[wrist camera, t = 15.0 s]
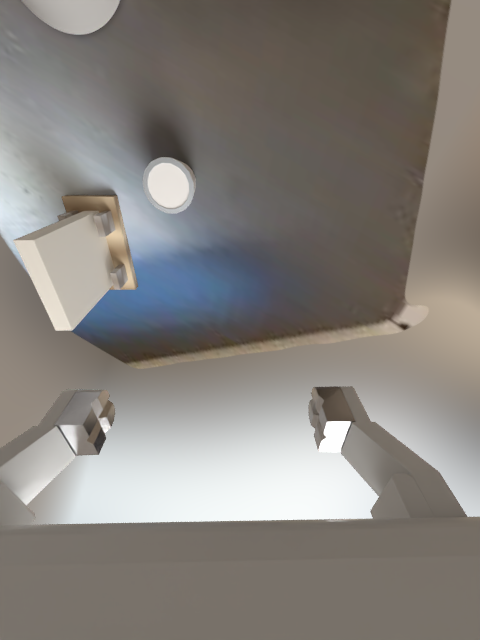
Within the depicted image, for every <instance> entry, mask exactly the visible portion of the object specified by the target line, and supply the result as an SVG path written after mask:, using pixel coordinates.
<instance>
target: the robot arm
mask: <svg viewBox="0 0 480 640" xmlns="http://www.w3.org/2000/svg"><path fill="white" fill-rule="evenodd" d="M21 1H22V2H23V3H24V4H25V5H26V6H27V7H28V8H29V9H30V10H31V11H32V12H33V13H34V14H35V15H36V16H37V17H38V18H40V19H41V20H42V21H43V22H45V23H46V24H48V25H50V26H51V27H53V28H55V29H57V30H59V31H62V32H65V33H69V34H75V35H82V34H88V33H92V32H94V31H96V30H98V29H100V28H101V27H103V26H104V25H105V24H106V23H107V22H108V21H109V20H110V18H111V17H112V16H113V14H114V12H115V11H116V9H117V7H118V4H119V2H120V0H21ZM311 394H312V398H313V399H312V400H310V402H309V419H310V423H311V425H312V426H313V427H314V428H315V433H314V437H315V441H316V444H317V448H318V451H321V452H322V451H323V452H325V451H326V452H341V454H342V455H343V456H344V457H345V459H347V461H348V462H349V463H350V464H351V465H352V466H353V468H354V469H355V470H356V471H357V472H358V473H359V474H360V475H361V477H362V478H363V479H364V480H365V481H366V482H367V483H368V485H369V486H370V487H371V488H372V489H373V490H374V491H375V493H376V494H377V495H378V496H379V498H378V500H377V501H376V503H375V504H374V506H373V508H372V510H371V514H372V517H373V519H331V520H330V519H328V520H276V521H275V520H272V521H220V522H219V521H217V522H160V523H107V524H56V525H55V524H54V525H53V524H52V525H51V524H49V525H32V523H33V521H34V520H35V514H34V513H33V512H32V511H31V510H30V509H29V508H28V507H27V506H26V505H27V504H28V503H29V502H30V501H31V500H32V499H33V498H34V497H35V496H36V495H37V494H38V493H39V492H40V491H41V490H42V489H43V488H44V487H45V486H46V485H47V484H48V483H49V482H50V481H52V480H53V479H54V478H55V477H56V476H57V475H58V474H59V473H60V472H61V471H62V470H63V469H64V468H65V467H66V466H67V465H68V464H69V463H70V462H71V461H72V460H73V459H74V458H75V457H76V455H99V453H100V450H101V448H102V446H103V444H104V442H105V440H106V436H105V432H106V431H107V430H108V429H110V428H111V426H112V424H113V421H114V415H115V408H114V405H113V403H112V402H110V401H109V400H108V399H109V397H110V395H109V393H108V391H107V390H87V389H79V390H78V389H76V390H75V389H66V390H65V391H63V392H62V393H61V394H60V396H59V397H58V398H57V400H56V401H55V403H54V404H53V406H52V407H51V408H50V410H49V411H48V412H47V414H46V415H45V417H44V418H43V419H42V421H41V422H40V424H39V425H38V426H33V427H32V428H30V429H29V430H27V431H26V432H24V433H23V434H21V435H20V436H18V437H17V438H15V439H14V440H12V441H11V442H9V443H8V444H6V445H5V446H3V447H2V448H0V640H480V517H467V515H466V514H465V512H464V511H463V509H462V507H461V506H460V504H459V503H458V501H457V499H456V498H455V496H454V495H453V493H452V492H451V490H450V488H449V487H448V485H447V484H446V482H445V480H444V479H443V477H442V476H441V474H440V473H439V472H438V471H437V470H436V469H435V468H433V467H432V466H431V465H429V464H428V463H427V462H426V461H424V460H423V459H422V458H420V457H419V456H418V455H417V454H415V453H414V452H413V451H411V450H410V449H409V448H408V447H406V446H405V445H404V444H402V443H401V442H400V441H398V440H397V439H396V438H395V437H394V436H392V435H391V434H389V433H388V432H387V431H386V430H385V429H383V428H382V427H381V426H379V425H378V424H377V423H375V422H371V421H370V419H369V417H368V415H367V413H366V411H365V409H364V407H363V405H362V403H361V402H360V399H359V397H358V396H357V393H356V391H355V389H354V388H353V387H314V388H313V389H312V393H311Z"/></svg>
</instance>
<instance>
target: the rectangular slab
mask: <svg viewBox="0 0 480 640" xmlns="http://www.w3.org/2000/svg"><path fill="white" fill-rule="evenodd" d="M98 213H99V211H83V212H80V213H78V214H75V215H73V216H71V217H68V218H66V219H63V220H61V221H58V222H56V223H54V224H51V225H49V226H46V227H44V228H42V229H39V230H37V231H34V232H32V233H30V234H27V235H25V236H22V237H20V238H17V239H15V240H13V241H14V243H15V245H16V247H17V249H18V251H19V254H20V256H21V258H22V260H23V262H24V264H25V266H26V268H27V270H28V273H29V275H30V277H31V279H32V281H33V283H34V285H35V287H36V290H37V291H38V294H39V296H40V298H41V300H42V302H43V304H44V306H45V309H46V311H47V313H48V315H49V317H50V319H51V321H52V323H53V325H54V327H55V330H73V329H74V328H75V327H76V326H77V325H78V324H79V323H80V321H81V320H82V319H83V318H84V317H85V316H86V315H87V314H88V312H89V311H90V310H91V309H92V308H93V307H94V306H95V305H96V303H97V302H98V301H99V300H100V299H101V298H102V297H103V296H104V295H105V293H106V292H107V291H108V290H109V289H110V288H111V287H112V286H113V282H112V279H111V276H110V273H111V272H112V271H113V270H114V265H113V262H112V258H111V254H110V251H109V247H108V243H107V240H106V237H99V234H98V231H97V227H96V224H95V220H94V217H93V216H94V215H96V214H98Z"/></svg>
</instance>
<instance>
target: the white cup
mask: <svg viewBox="0 0 480 640" xmlns="http://www.w3.org/2000/svg"><path fill="white" fill-rule="evenodd" d="M143 187H144V192H145V194H146V196H147V198H148V200H149V201H150V202H151V203H152V204H153V205H154V206H155V207H156V208H157V209H158V210H161V211H163V212H165V213H179V212H181V211H183V210H185V209H186V208H187V207H188V206H189V205H190V203H191V201H192V198H193V195H194V192H195V188H196V178H195V176H194V173H193V171H192V170H191V168H190V167H189V166H188V165H187V164H185V163H183V162H181V161H179V160H176V159H173V158H168V157H160V158H158V159H155V160H153V161H151V162H150V164H149V165H148V166H147V168H146V169H145V172H144V176H143Z"/></svg>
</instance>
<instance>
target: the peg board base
mask: <svg viewBox="0 0 480 640" xmlns="http://www.w3.org/2000/svg"><path fill="white" fill-rule="evenodd" d="M62 200H63V203H64V206H65V209H66V212H67V213H64V214H61V215H59V216H58V219H59V221H61V220H63V219H66V218H68V217H71V216H73V215H75V214H78V213H80V212H83V211H99V213H98V214H96V215H94V216H93V217H94V220H95V224H96V227H97V231H98V234H99V237H106V240H107V243H108V247H109V251H110V254H111V258H112V262H113V265H114V270H113V271H112V272H111V273H110V276H111V279H112V282H113V286H112V287H111V288H110V289H109V290H125V289H136V288H137V287H138V284H137V279H136V275H135V271H134V266H133V262H132V258H131V254H130V249H129V245H128V241H127V236H126V232H125V228H124V224H123V219H122V215H121V211H120V206H119V202H118V198H117V195H66V196H62Z"/></svg>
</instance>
